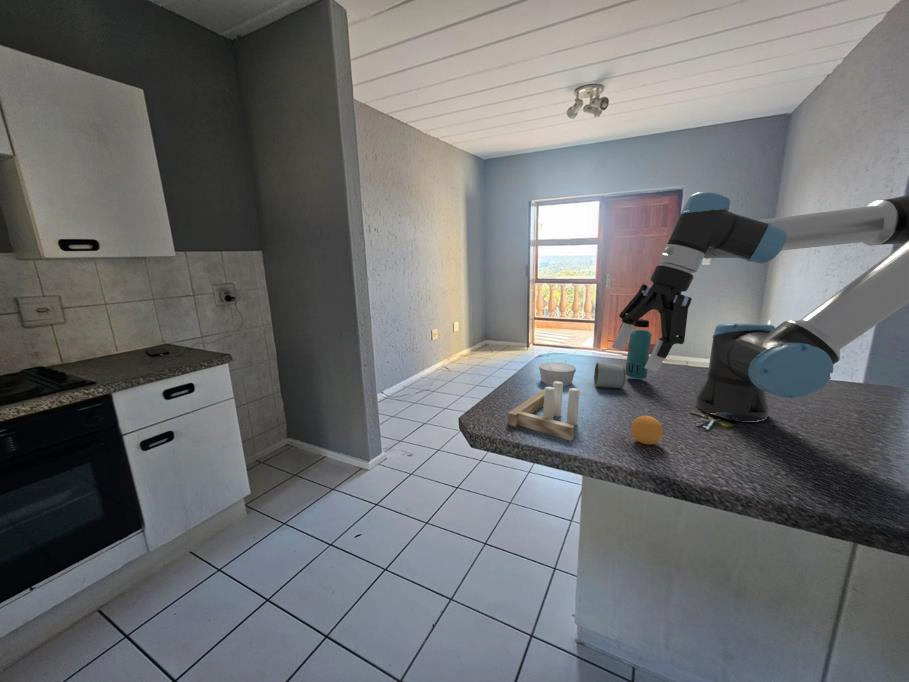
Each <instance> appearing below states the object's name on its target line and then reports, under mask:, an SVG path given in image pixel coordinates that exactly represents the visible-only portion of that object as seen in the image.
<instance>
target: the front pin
mask: <svg viewBox="0 0 909 682" xmlns="http://www.w3.org/2000/svg"><path fill="white" fill-rule="evenodd" d="M580 393H581V391H580V389H579V388H575V387H573V388H572V387H570V388H569V389H568V398H567V399H568V401H567V413H566V414H567V415H566V424H570V425H574V426H577V425H578V418H579V417H578V416H579V404H580Z"/></svg>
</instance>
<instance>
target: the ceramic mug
mask: <svg viewBox="0 0 909 682" xmlns="http://www.w3.org/2000/svg"><path fill="white" fill-rule="evenodd" d="M626 376H627V375H626V367H624V366H623V365H621V364H615V363H608V362H607V363H606V362H600V361H597V362H596V363H595V367H594V374H593V384H594V386H595V388H608V389H622V388H623V387H624V386H625V384H626Z"/></svg>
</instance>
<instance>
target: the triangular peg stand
mask: <svg viewBox="0 0 909 682" xmlns="http://www.w3.org/2000/svg"><path fill="white" fill-rule="evenodd" d="M544 393H545V389H542V390H540V391H538V392H537V393H535V395H532V396H531V397H530V398H528V399H527V400H525V401H524V402H522V403H521V404H519V405H517V406H516V407H514V408H513V409H511V410H510V411H508V413H507V426H511V427H514V428H516V427H517V426H520V427H523V428H526V429H529V428H530V429H529V430H533V431H536V432H540V433H543V434H547V435H549V436H553V437H556V438H560V439H563V440H566V441H570V442H572V440H573V439H574V435H575V425H570V424H567V422H562V421H558V420H555V419H553V420H551V419H548V418H544V417H543V416H540V415H536V414H535V413H536V412H537V411H539V408H540V409H541V408H543V407H544V406H543V405H544ZM536 410H537V411H536ZM535 411H536V412H535Z"/></svg>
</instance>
